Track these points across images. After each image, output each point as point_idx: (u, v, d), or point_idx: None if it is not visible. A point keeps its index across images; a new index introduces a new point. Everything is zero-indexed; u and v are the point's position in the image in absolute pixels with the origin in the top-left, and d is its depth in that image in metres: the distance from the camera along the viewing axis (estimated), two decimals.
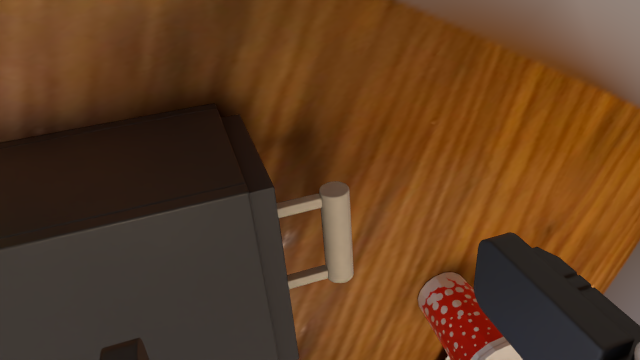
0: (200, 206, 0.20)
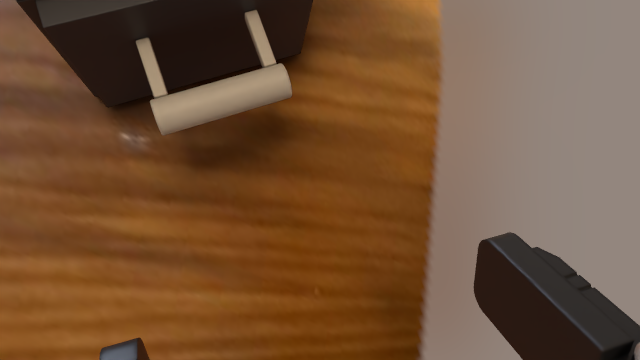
0: None
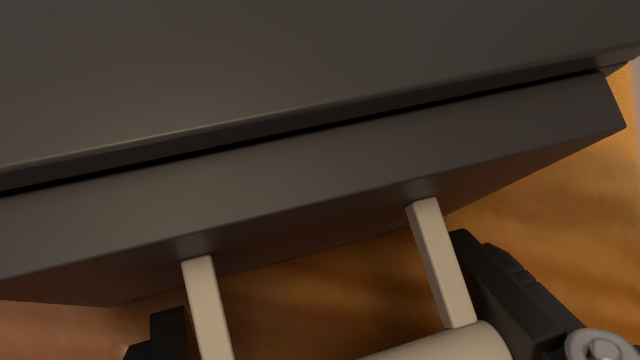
0: None
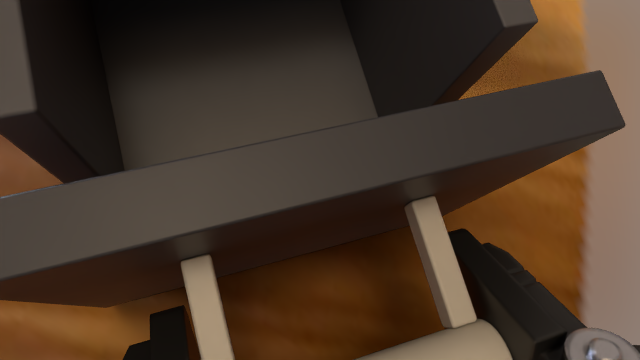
0: None
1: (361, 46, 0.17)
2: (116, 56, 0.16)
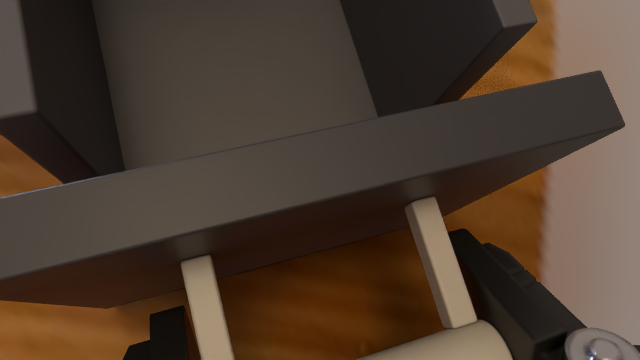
0: None
1: (361, 47, 0.17)
2: (117, 57, 0.16)
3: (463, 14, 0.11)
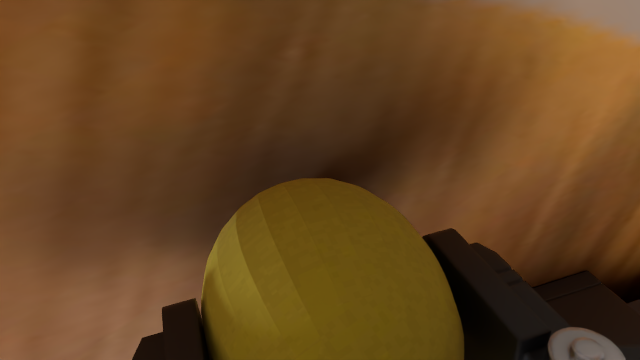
0: None
1: None
2: None
3: None
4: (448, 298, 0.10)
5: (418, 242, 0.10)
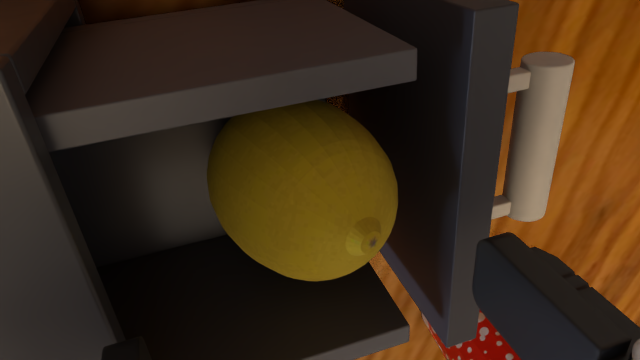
0: None
1: None
2: (220, 227, 0.21)
3: None
4: (383, 150, 0.15)
5: (358, 122, 0.15)
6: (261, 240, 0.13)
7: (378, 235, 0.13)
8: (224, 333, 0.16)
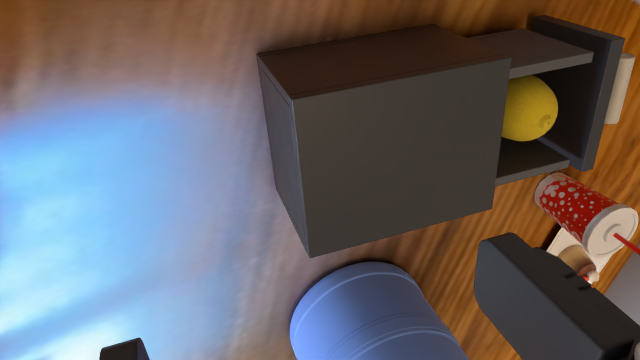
0: (485, 64, 0.33)
1: None
2: None
3: None
4: (554, 94, 0.39)
5: None
6: (506, 119, 0.39)
7: (550, 121, 0.38)
8: None
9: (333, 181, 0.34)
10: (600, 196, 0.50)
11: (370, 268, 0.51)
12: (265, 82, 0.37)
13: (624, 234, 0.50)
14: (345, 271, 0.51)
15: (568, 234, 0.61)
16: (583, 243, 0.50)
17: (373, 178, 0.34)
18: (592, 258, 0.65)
